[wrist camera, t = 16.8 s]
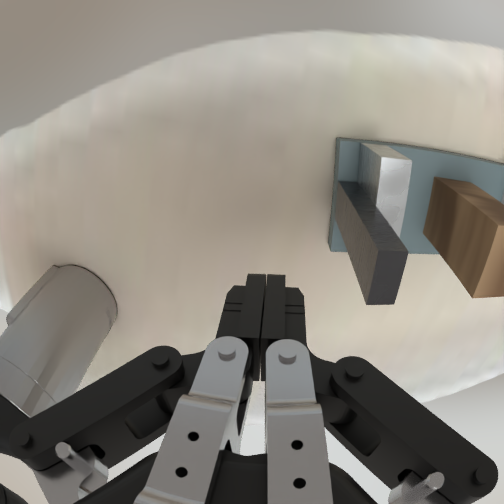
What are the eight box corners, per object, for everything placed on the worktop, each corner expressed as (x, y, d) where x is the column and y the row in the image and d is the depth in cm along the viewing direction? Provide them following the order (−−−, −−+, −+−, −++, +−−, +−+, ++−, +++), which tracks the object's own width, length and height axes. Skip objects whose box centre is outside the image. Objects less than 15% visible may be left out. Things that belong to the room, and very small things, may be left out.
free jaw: (330, 252, 24) (354, 347, 15) (340, 141, 20) (389, 184, 11) (371, 253, 24) (411, 344, 15) (386, 145, 20) (459, 191, 11)
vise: (328, 242, 26) (340, 287, 20) (336, 137, 21) (357, 154, 16) (500, 249, 24) (533, 283, 19) (521, 168, 20) (562, 192, 14)
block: (422, 233, 23) (472, 298, 15) (433, 176, 20) (498, 225, 13) (458, 235, 23) (511, 295, 15) (470, 182, 20) (536, 229, 12)
